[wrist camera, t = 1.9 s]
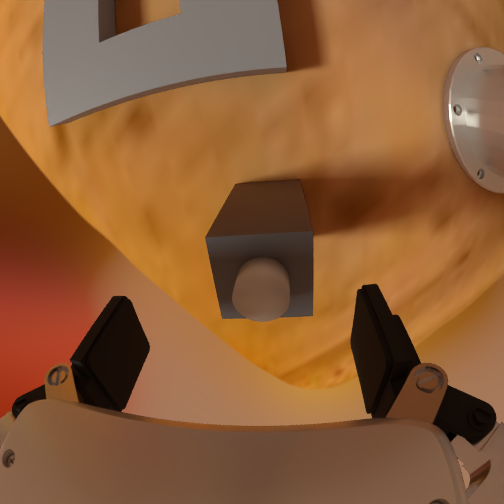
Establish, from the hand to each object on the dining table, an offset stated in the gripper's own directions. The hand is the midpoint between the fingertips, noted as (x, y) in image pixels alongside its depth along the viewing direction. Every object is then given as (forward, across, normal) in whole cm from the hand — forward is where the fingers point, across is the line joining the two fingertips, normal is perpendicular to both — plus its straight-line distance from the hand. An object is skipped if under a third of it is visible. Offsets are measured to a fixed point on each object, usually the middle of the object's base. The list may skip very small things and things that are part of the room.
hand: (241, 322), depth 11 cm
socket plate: (+12, +6, -18) cm, 23 cm away
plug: (+12, -1, 0) cm, 12 cm away
